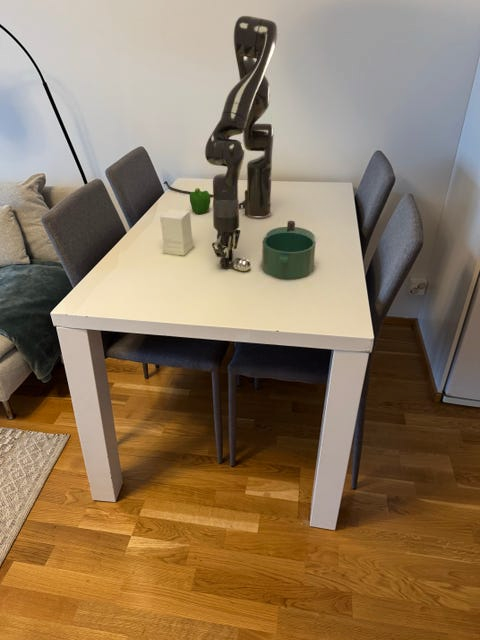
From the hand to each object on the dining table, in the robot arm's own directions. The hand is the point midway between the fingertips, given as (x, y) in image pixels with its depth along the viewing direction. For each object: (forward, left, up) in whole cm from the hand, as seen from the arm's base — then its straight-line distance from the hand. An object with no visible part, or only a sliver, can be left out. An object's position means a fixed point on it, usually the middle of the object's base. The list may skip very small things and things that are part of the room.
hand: (227, 265), depth 138 cm
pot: (+17, +8, 0) cm, 19 cm away
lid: (+9, +29, 0) cm, 30 cm away
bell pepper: (-33, +37, 0) cm, 50 cm away
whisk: (+3, 0, 0) cm, 3 cm away
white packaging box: (-20, +3, 0) cm, 20 cm away
